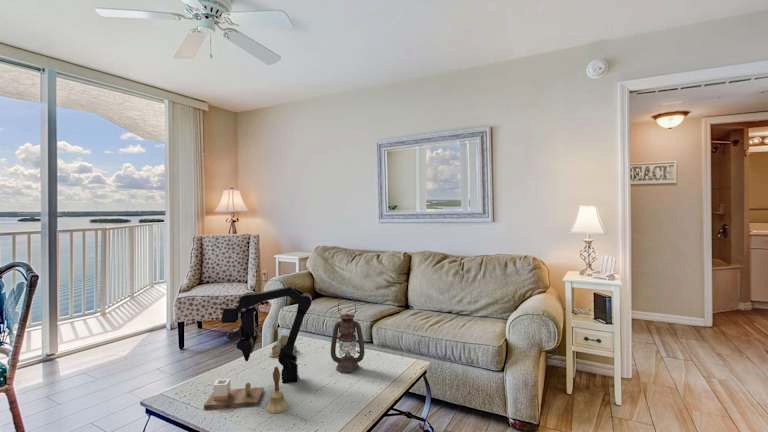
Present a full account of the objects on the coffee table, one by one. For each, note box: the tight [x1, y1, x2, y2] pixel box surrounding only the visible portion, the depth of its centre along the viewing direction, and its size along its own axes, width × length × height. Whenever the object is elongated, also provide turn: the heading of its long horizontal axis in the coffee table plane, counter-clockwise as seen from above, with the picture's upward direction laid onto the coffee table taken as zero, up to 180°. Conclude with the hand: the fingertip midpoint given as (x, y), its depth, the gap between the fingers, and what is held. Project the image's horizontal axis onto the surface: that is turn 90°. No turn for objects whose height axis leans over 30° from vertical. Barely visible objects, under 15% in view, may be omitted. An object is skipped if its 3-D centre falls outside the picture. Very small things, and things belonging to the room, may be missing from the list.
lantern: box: [330, 295, 365, 374], centre depth 177 cm, size 11×16×35 cm
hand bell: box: [265, 366, 289, 415], centre depth 142 cm, size 8×8×16 cm
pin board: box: [203, 382, 265, 410], centre depth 149 cm, size 20×12×6 cm, turn 97°
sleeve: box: [212, 378, 231, 400], centre depth 148 cm, size 5×5×6 cm
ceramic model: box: [269, 334, 297, 359], centre depth 197 cm, size 14×11×10 cm
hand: (248, 356), depth 163 cm, fingers open, 9 cm apart
